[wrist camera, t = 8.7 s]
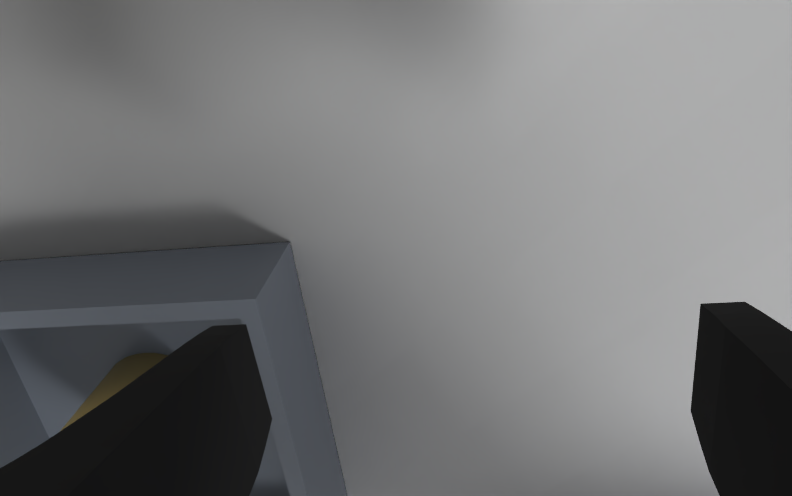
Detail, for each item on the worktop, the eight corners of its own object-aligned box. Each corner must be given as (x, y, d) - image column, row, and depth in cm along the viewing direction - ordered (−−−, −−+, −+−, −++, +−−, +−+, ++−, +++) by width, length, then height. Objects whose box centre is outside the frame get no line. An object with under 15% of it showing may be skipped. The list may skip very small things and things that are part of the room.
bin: (289, 241, 21) (255, 299, 17) (350, 507, 26) (331, 588, 23) (-38, 263, 22) (-120, 318, 19) (80, 506, 28) (30, 580, 25)
